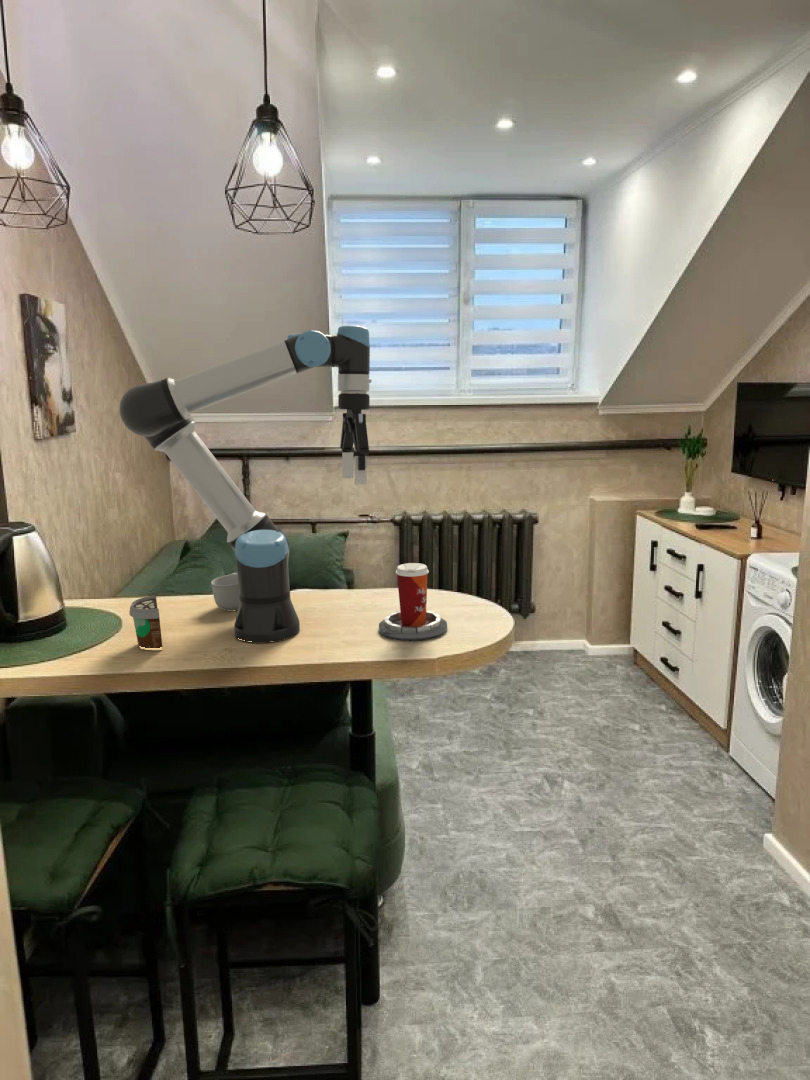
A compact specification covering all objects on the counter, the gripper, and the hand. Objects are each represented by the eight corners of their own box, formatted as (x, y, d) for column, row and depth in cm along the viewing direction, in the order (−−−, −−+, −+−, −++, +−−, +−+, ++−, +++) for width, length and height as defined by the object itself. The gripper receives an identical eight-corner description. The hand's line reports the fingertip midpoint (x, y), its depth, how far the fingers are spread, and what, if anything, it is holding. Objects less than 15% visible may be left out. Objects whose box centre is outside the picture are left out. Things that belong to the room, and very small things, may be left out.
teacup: (250, 613, 191) (248, 583, 190) (208, 614, 192) (205, 584, 190) (262, 597, 205) (260, 569, 203) (222, 598, 205) (220, 570, 203)
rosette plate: (373, 640, 169) (372, 629, 169) (384, 617, 185) (384, 607, 184) (444, 642, 167) (444, 630, 167) (449, 618, 183) (449, 608, 182)
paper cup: (428, 630, 172) (426, 570, 168) (394, 629, 173) (392, 570, 170) (432, 619, 179) (430, 562, 176) (400, 618, 180) (398, 562, 177)
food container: (132, 638, 175) (127, 597, 173) (160, 635, 177) (155, 594, 175) (133, 656, 164) (128, 612, 162) (163, 652, 166) (158, 609, 164)
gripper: (382, 392, 170) (382, 486, 174) (356, 393, 194) (357, 475, 197) (350, 392, 168) (350, 486, 172) (328, 393, 191) (328, 476, 195)
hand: (354, 481), depth 185 cm, fingers open, 13 cm apart
